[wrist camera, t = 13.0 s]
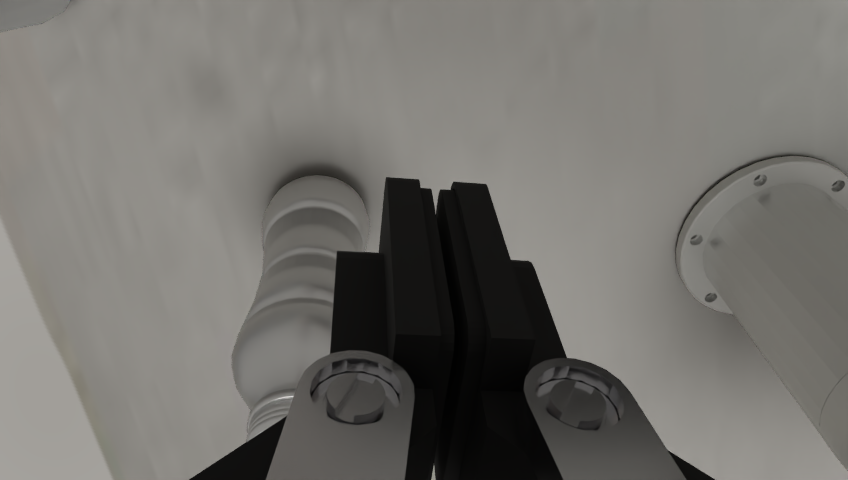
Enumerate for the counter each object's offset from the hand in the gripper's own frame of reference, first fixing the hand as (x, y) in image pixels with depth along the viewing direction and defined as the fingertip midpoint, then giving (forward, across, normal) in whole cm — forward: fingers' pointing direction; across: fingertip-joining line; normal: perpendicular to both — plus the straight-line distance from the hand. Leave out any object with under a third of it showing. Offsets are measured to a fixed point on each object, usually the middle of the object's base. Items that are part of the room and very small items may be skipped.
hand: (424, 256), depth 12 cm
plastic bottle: (+29, +3, +16) cm, 34 cm away
